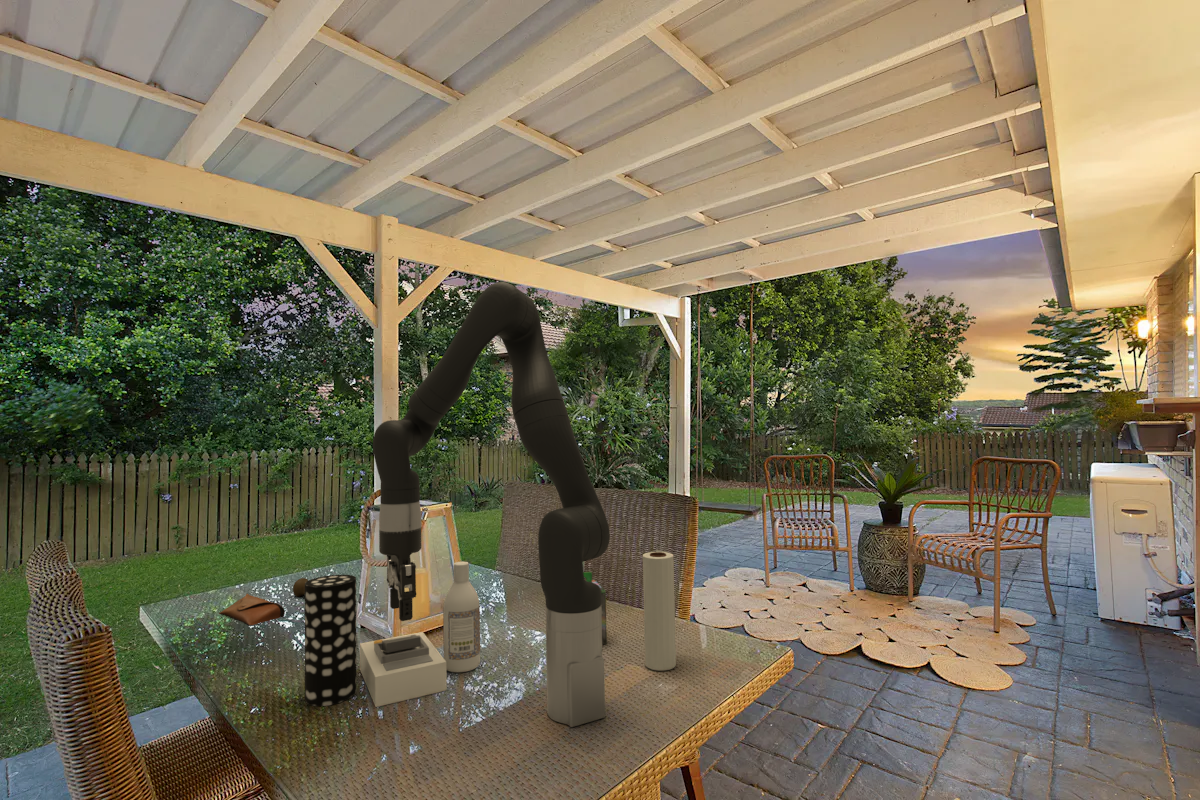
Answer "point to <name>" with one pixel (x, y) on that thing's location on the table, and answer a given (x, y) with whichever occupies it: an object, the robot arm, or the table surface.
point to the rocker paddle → (401, 643)
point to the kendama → (299, 587)
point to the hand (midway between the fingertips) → (401, 613)
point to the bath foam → (461, 623)
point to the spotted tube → (330, 639)
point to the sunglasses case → (254, 610)
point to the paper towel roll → (659, 610)
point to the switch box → (402, 671)
